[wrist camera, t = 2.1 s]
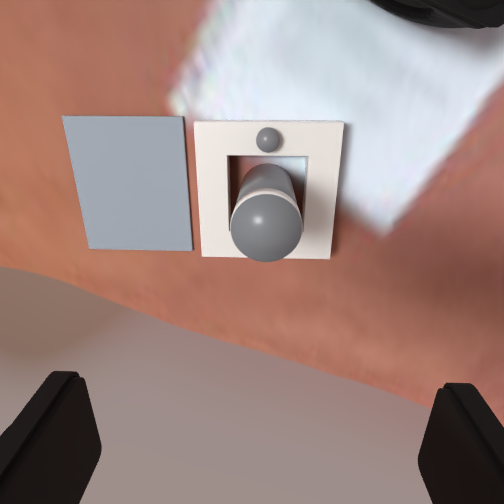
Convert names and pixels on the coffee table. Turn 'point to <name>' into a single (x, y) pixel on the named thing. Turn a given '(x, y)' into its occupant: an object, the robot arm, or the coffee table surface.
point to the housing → (268, 144)
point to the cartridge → (266, 215)
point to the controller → (448, 12)
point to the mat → (131, 181)
